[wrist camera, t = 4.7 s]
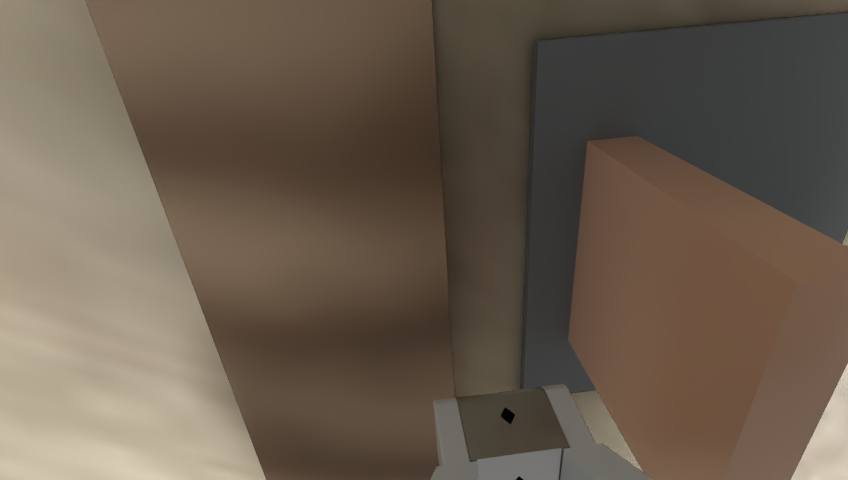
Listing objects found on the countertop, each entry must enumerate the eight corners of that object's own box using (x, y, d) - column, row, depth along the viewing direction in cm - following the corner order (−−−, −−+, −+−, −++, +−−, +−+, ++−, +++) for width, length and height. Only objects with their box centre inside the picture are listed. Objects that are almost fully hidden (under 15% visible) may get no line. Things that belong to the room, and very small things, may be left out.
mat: (533, 39, 13) (538, 41, 13) (926, 4, 14) (940, 4, 13) (520, 392, 20) (523, 399, 19) (785, 357, 20) (792, 363, 20)
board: (108, -8, 12) (82, -8, 10) (424, -33, 12) (429, -36, 11) (283, 486, 21) (278, 512, 20) (455, 462, 21) (459, 486, 20)
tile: (587, 140, 14) (797, 282, 7) (641, 135, 14) (901, 269, 7) (567, 340, 18) (692, 558, 11) (610, 334, 18) (762, 548, 11)
